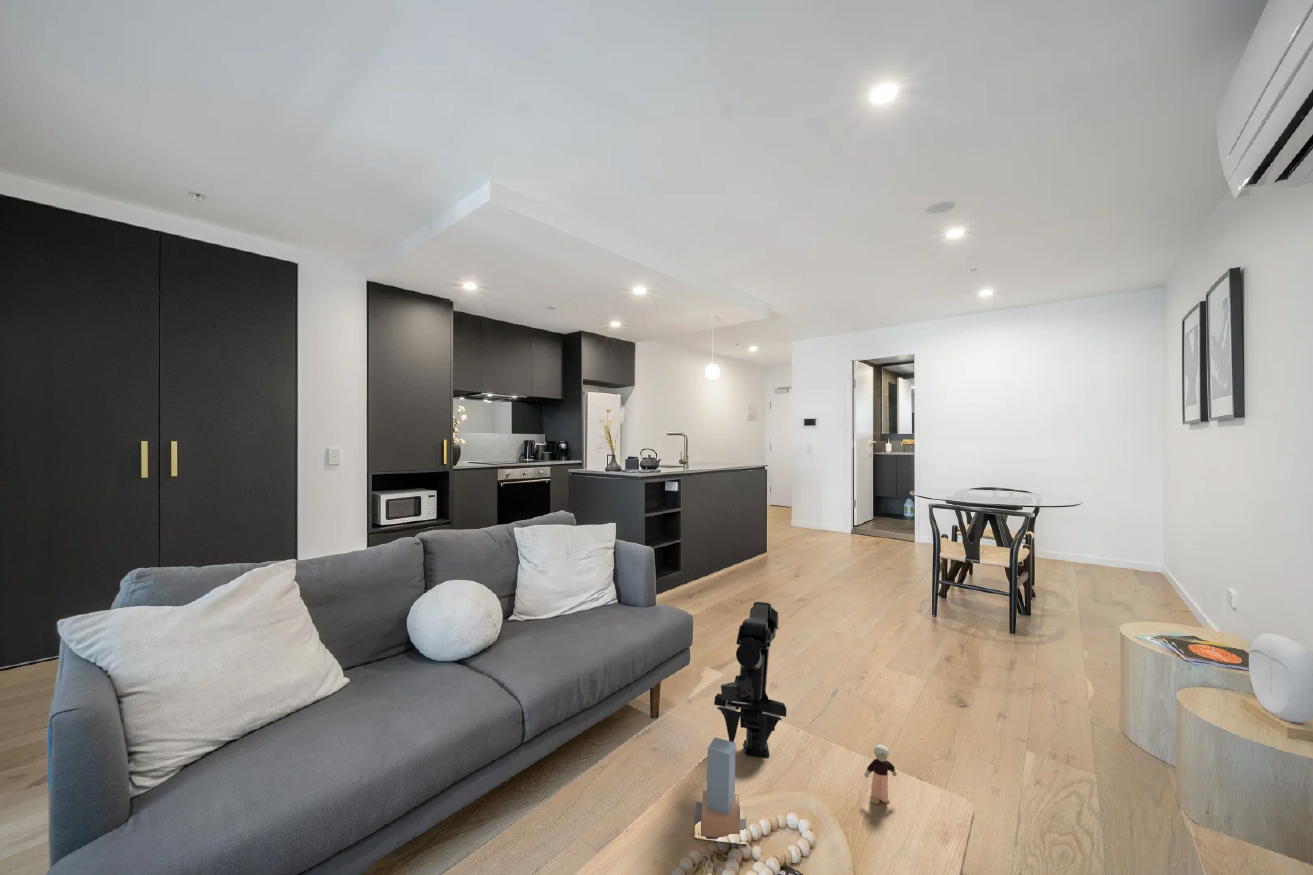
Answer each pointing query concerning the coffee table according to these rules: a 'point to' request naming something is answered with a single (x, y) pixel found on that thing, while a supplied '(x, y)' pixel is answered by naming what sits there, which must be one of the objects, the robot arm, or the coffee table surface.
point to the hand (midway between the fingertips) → (745, 745)
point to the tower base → (718, 820)
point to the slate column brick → (721, 775)
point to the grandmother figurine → (880, 775)
